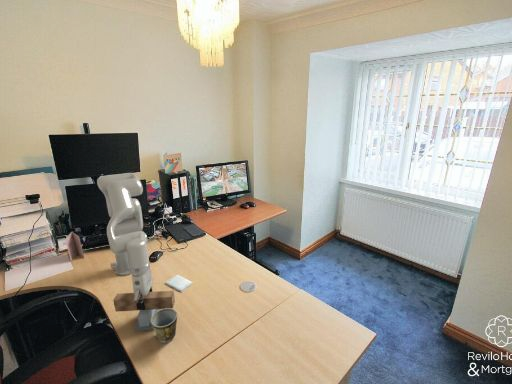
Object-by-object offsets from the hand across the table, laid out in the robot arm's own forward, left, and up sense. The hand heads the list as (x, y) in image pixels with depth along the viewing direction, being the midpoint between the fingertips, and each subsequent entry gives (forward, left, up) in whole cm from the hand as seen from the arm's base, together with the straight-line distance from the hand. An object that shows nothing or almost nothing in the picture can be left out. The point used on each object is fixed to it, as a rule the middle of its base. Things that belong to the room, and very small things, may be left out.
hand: (145, 301), depth 114 cm
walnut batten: (0, 0, -3) cm, 3 cm away
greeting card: (-60, +57, -10) cm, 83 cm away
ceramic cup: (+11, -11, -10) cm, 19 cm away
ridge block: (0, 0, -10) cm, 10 cm away
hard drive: (+9, +24, -11) cm, 28 cm away
